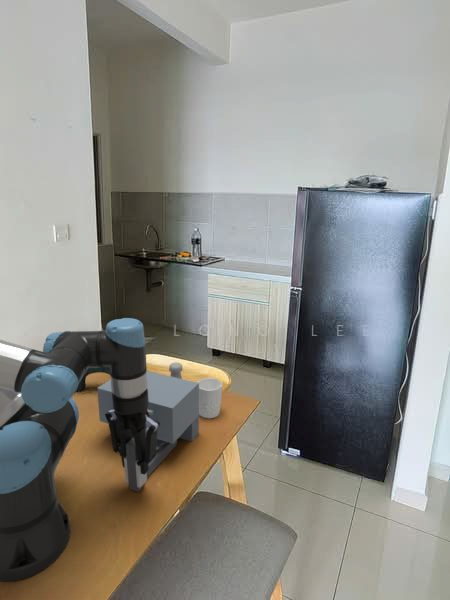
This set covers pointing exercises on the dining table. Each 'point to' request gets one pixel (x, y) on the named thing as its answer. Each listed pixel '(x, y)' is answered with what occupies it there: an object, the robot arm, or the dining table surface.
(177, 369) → the salt shaker
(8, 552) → the robot arm
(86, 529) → the dining table surface
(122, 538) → the dining table surface
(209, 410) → the white cup
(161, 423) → the cabinet
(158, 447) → the steel token
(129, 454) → the l-shaped tool
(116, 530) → the dining table surface
